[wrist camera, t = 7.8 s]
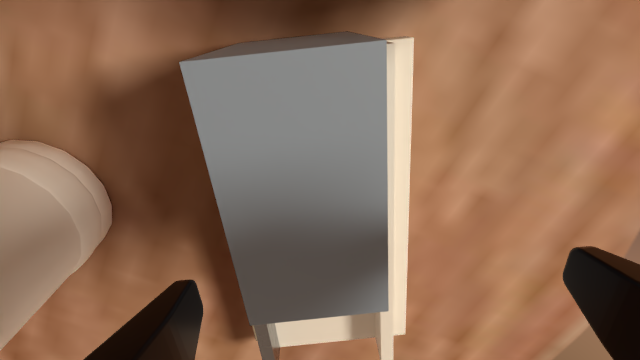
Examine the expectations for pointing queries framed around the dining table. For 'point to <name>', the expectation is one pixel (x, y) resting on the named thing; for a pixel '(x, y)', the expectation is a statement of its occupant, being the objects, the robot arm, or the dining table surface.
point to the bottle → (44, 226)
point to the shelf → (398, 219)
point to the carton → (299, 170)
